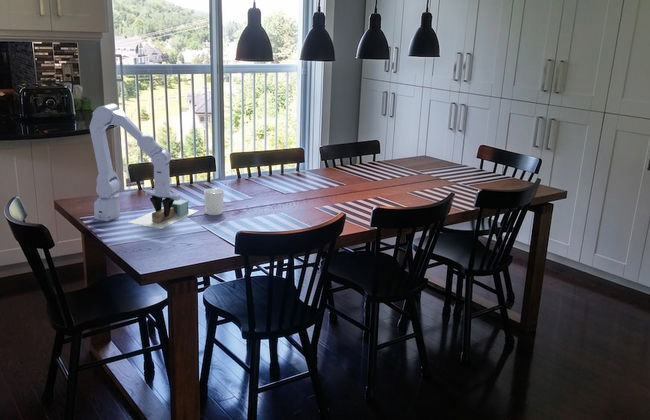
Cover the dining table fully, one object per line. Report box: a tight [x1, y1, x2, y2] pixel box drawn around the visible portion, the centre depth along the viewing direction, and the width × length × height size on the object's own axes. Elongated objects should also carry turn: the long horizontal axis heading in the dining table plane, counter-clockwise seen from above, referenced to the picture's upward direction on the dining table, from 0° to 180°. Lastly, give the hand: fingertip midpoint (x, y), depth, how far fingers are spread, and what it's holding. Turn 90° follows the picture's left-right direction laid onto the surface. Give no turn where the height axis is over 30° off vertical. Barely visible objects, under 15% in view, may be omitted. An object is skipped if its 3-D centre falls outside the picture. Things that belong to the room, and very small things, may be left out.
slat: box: [152, 207, 174, 223], centre depth 234 cm, size 10×3×4 cm, turn 160°
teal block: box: [171, 199, 189, 217], centre depth 242 cm, size 6×7×5 cm
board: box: [127, 206, 199, 230], centre depth 239 cm, size 26×15×1 cm, turn 160°
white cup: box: [203, 187, 225, 216], centre depth 246 cm, size 8×8×10 cm
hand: (162, 215), depth 234 cm, fingers closed on slat, 3 cm apart
